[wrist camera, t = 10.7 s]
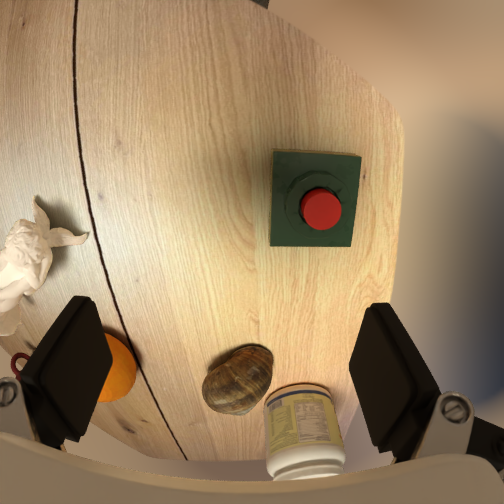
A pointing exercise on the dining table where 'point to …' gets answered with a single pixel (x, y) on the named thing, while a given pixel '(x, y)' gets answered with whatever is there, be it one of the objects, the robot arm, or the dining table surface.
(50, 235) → the angel figurine
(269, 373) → the seashell
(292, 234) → the box
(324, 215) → the button
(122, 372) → the fruit
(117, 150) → the dining table surface
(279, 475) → the supplement tub
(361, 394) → the robot arm
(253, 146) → the dining table surface
